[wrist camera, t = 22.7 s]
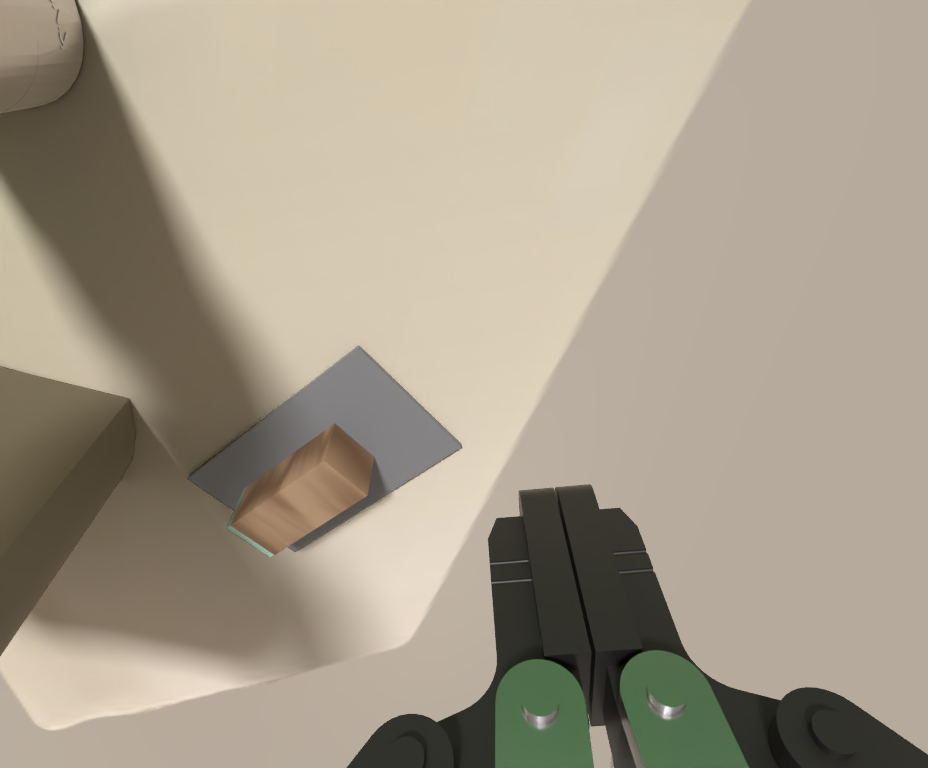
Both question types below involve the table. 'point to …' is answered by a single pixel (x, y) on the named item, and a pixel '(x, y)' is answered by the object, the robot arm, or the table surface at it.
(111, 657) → the table surface
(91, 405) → the book
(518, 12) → the table surface
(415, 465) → the rubber mat
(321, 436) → the walnut block
